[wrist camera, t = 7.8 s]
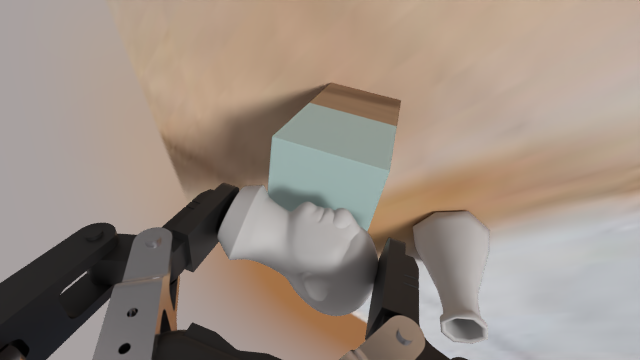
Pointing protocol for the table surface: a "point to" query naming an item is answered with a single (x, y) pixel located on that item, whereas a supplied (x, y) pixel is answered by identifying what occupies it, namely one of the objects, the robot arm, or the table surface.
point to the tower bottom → (359, 103)
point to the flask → (456, 269)
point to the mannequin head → (304, 248)
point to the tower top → (331, 161)
